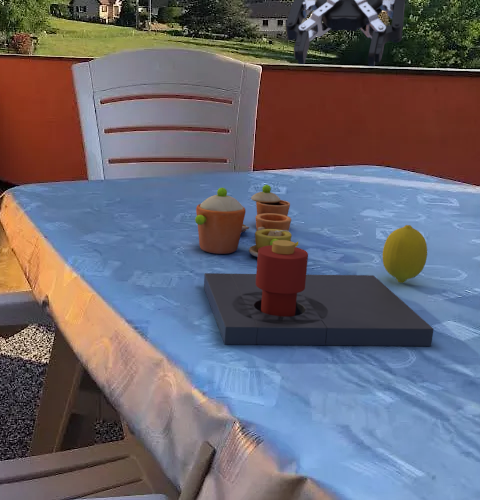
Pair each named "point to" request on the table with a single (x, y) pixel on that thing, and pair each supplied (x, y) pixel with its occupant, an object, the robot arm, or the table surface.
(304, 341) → the grey board with hole
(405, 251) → the lemon
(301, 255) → the stopper
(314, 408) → the table surface
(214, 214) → the toy tea set
